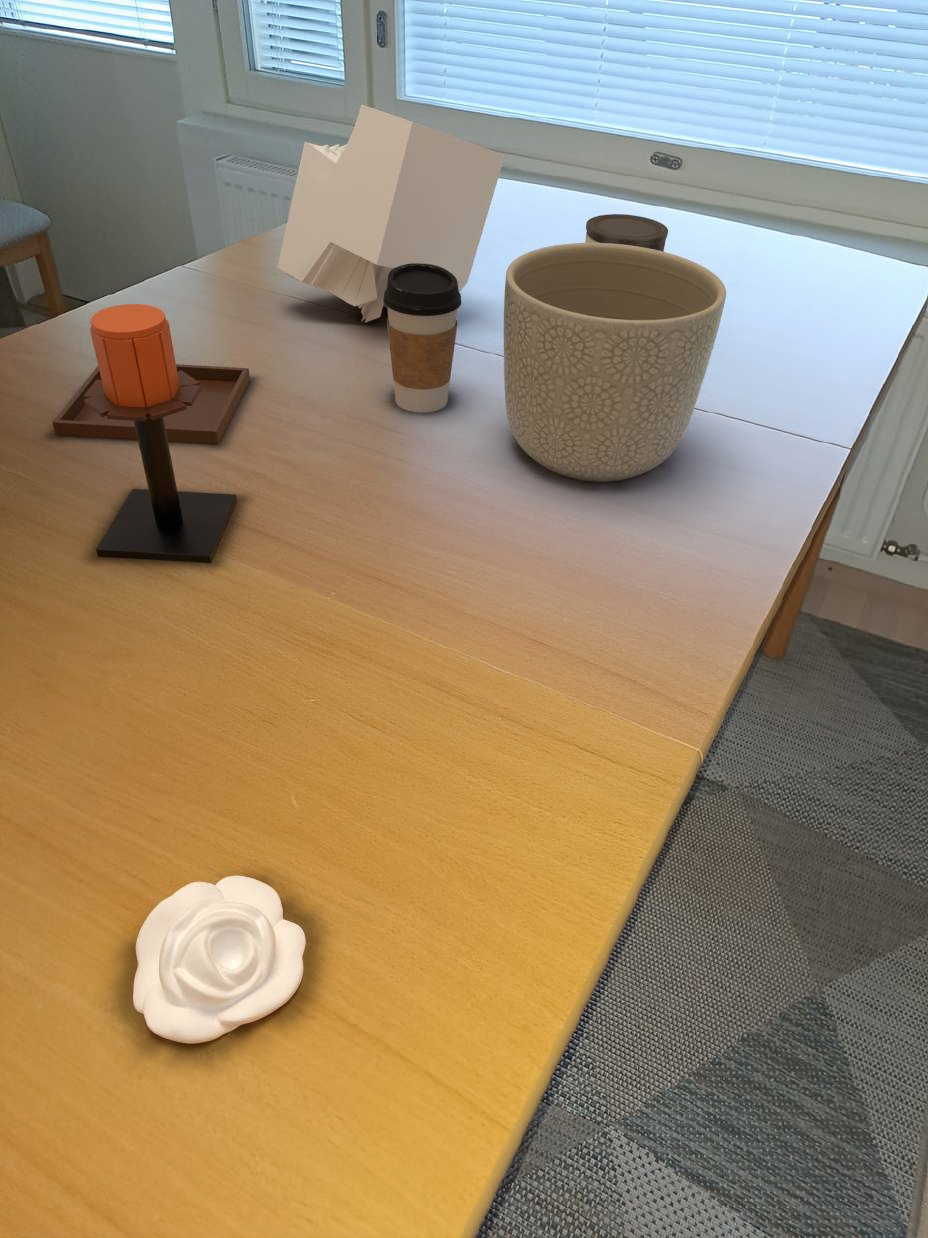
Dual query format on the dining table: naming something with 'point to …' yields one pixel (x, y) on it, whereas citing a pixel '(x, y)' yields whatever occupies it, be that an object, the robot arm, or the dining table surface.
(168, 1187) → the dining table surface
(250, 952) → the rose
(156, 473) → the stand
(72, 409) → the tray
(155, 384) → the hat
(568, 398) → the planter
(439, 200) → the tissue box
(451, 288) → the coffee cup
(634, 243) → the coffee can
